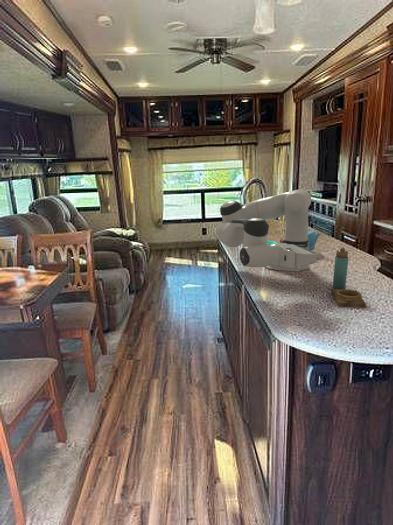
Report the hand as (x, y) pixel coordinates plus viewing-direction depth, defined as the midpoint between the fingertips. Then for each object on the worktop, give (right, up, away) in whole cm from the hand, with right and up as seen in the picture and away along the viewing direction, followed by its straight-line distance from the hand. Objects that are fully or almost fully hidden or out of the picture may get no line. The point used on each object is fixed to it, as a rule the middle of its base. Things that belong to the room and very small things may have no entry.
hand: (314, 252), depth 140 cm
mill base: (+11, -18, -4) cm, 22 cm away
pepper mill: (+13, -15, +7) cm, 21 cm away
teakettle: (+16, +2, +73) cm, 74 cm away
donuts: (-7, -3, +57) cm, 57 cm away
